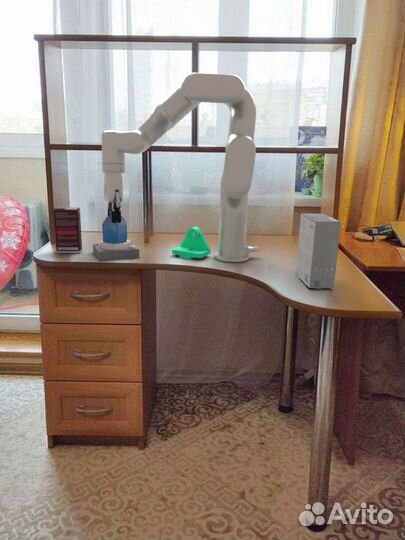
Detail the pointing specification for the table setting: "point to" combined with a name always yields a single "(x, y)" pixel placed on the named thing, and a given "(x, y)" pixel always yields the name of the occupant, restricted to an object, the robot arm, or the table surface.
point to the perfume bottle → (114, 230)
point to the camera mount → (193, 245)
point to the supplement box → (67, 230)
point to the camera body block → (115, 250)
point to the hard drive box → (318, 250)
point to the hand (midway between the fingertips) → (114, 220)
